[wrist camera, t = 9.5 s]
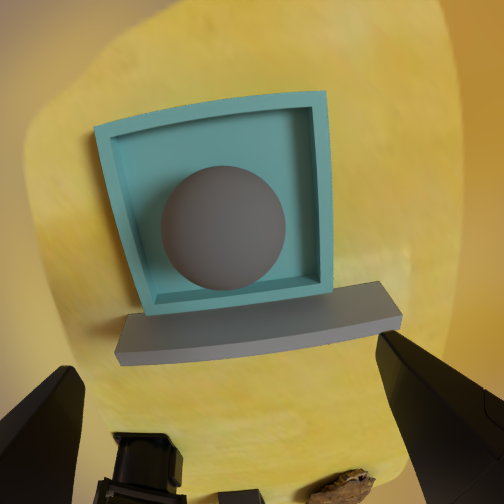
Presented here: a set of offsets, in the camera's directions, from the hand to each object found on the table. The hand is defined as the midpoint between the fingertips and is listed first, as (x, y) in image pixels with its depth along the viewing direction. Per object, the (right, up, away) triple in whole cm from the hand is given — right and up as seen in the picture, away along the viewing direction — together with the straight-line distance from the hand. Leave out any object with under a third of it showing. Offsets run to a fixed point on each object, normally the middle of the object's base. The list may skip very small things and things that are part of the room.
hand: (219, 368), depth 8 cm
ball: (0, +4, +7) cm, 9 cm away
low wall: (+1, -1, +14) cm, 14 cm away
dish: (-1, +6, +10) cm, 12 cm away
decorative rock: (+15, -34, +32) cm, 49 cm away
